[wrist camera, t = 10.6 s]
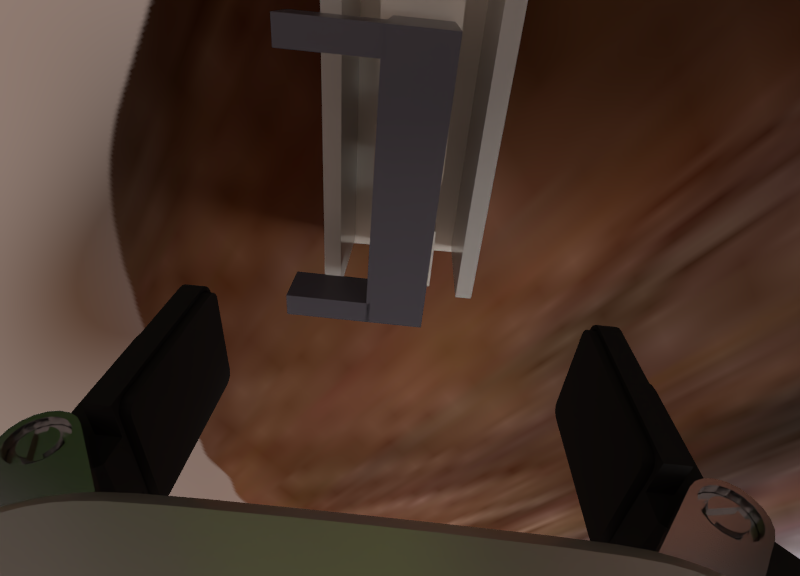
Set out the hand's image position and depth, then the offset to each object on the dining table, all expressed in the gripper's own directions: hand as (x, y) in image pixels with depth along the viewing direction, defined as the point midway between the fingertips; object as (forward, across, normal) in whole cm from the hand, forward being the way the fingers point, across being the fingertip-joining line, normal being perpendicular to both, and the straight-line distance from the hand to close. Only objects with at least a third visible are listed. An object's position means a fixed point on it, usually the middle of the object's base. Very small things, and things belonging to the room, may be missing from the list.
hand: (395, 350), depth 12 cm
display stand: (+24, 0, 0) cm, 24 cm away
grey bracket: (+17, +2, 0) cm, 17 cm away
